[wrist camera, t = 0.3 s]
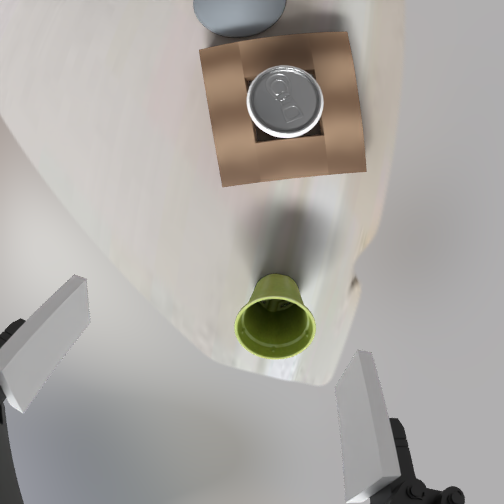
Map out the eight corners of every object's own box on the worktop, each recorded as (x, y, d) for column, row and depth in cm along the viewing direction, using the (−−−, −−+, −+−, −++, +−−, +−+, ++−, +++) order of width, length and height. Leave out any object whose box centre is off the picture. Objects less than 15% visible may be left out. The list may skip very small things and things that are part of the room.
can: (298, 72, 31) (304, 49, 20) (321, 121, 33) (339, 121, 22) (247, 94, 32) (229, 81, 21) (271, 142, 34) (265, 152, 24)
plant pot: (287, 248, 40) (287, 282, 32) (323, 299, 42) (329, 339, 35) (229, 282, 43) (218, 320, 35) (268, 328, 45) (264, 369, 38)
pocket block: (206, 55, 31) (198, 49, 27) (341, 39, 28) (347, 31, 25) (227, 181, 37) (222, 187, 34) (359, 166, 34) (366, 171, 31)
